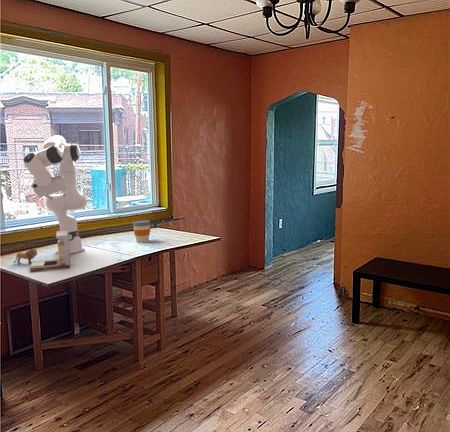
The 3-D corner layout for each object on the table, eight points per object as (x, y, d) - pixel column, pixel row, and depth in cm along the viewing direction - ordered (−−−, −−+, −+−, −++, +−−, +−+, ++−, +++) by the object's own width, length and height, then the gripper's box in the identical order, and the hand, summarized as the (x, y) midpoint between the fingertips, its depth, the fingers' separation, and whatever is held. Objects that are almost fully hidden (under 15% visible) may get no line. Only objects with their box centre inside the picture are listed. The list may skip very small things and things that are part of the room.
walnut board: (33, 265, 269) (32, 261, 269) (69, 261, 276) (69, 258, 275) (30, 272, 254) (30, 268, 254) (69, 268, 260) (69, 264, 260)
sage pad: (32, 263, 266) (32, 262, 265) (44, 262, 268) (44, 261, 268) (30, 267, 257) (30, 266, 257) (43, 265, 259) (43, 265, 259)
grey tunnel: (59, 259, 273) (56, 231, 271) (69, 258, 275) (67, 230, 272) (58, 265, 258) (55, 236, 256) (69, 264, 260) (66, 235, 257)
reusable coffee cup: (153, 239, 335) (152, 219, 332) (148, 243, 322) (147, 222, 320) (136, 239, 336) (135, 219, 334) (131, 243, 324) (130, 222, 321)
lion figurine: (39, 261, 277) (38, 247, 276) (36, 263, 272) (35, 249, 270) (15, 262, 276) (13, 248, 275) (11, 264, 271) (10, 250, 270)
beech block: (59, 261, 268) (58, 241, 266) (68, 260, 270) (67, 241, 268) (59, 263, 264) (57, 243, 262) (68, 262, 265) (66, 242, 263)
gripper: (62, 171, 255) (75, 189, 263) (32, 180, 260) (46, 198, 268) (59, 177, 250) (72, 196, 258) (28, 187, 255) (42, 205, 263)
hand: (58, 197), depth 263 cm, fingers open, 8 cm apart
